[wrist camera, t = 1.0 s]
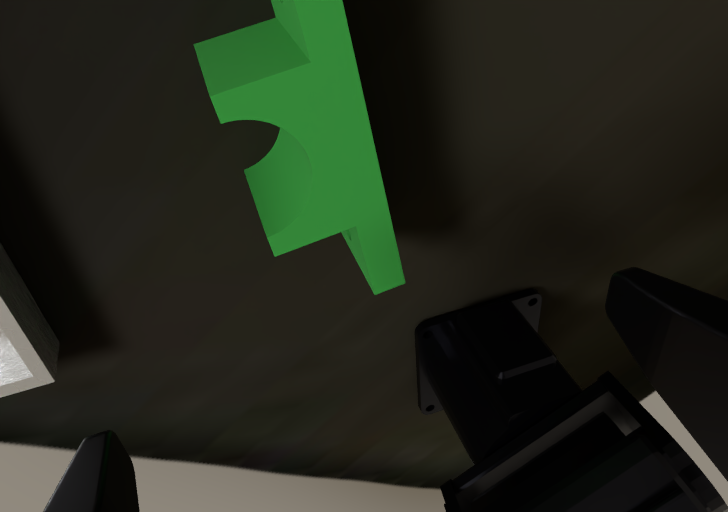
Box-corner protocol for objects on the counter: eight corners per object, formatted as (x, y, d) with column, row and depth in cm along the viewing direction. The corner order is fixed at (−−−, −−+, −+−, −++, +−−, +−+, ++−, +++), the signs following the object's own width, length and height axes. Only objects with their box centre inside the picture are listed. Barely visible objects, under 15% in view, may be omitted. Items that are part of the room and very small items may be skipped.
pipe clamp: (148, -67, 16) (155, -37, 12) (280, -106, 16) (323, -89, 13) (275, 249, 23) (302, 326, 19) (364, 216, 23) (407, 285, 20)
